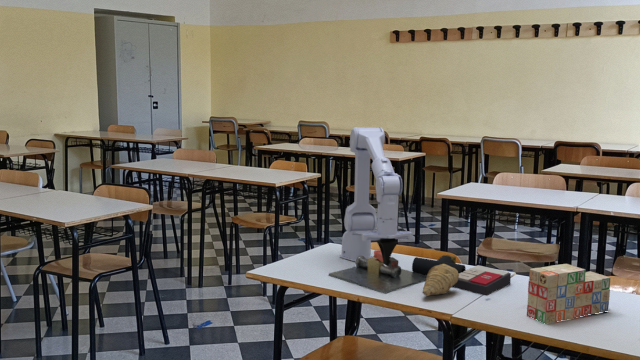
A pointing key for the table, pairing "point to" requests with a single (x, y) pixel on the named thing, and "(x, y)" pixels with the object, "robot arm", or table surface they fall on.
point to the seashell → (440, 279)
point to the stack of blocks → (566, 293)
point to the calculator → (482, 280)
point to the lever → (392, 261)
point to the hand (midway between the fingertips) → (385, 264)
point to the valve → (378, 275)
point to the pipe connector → (435, 264)
